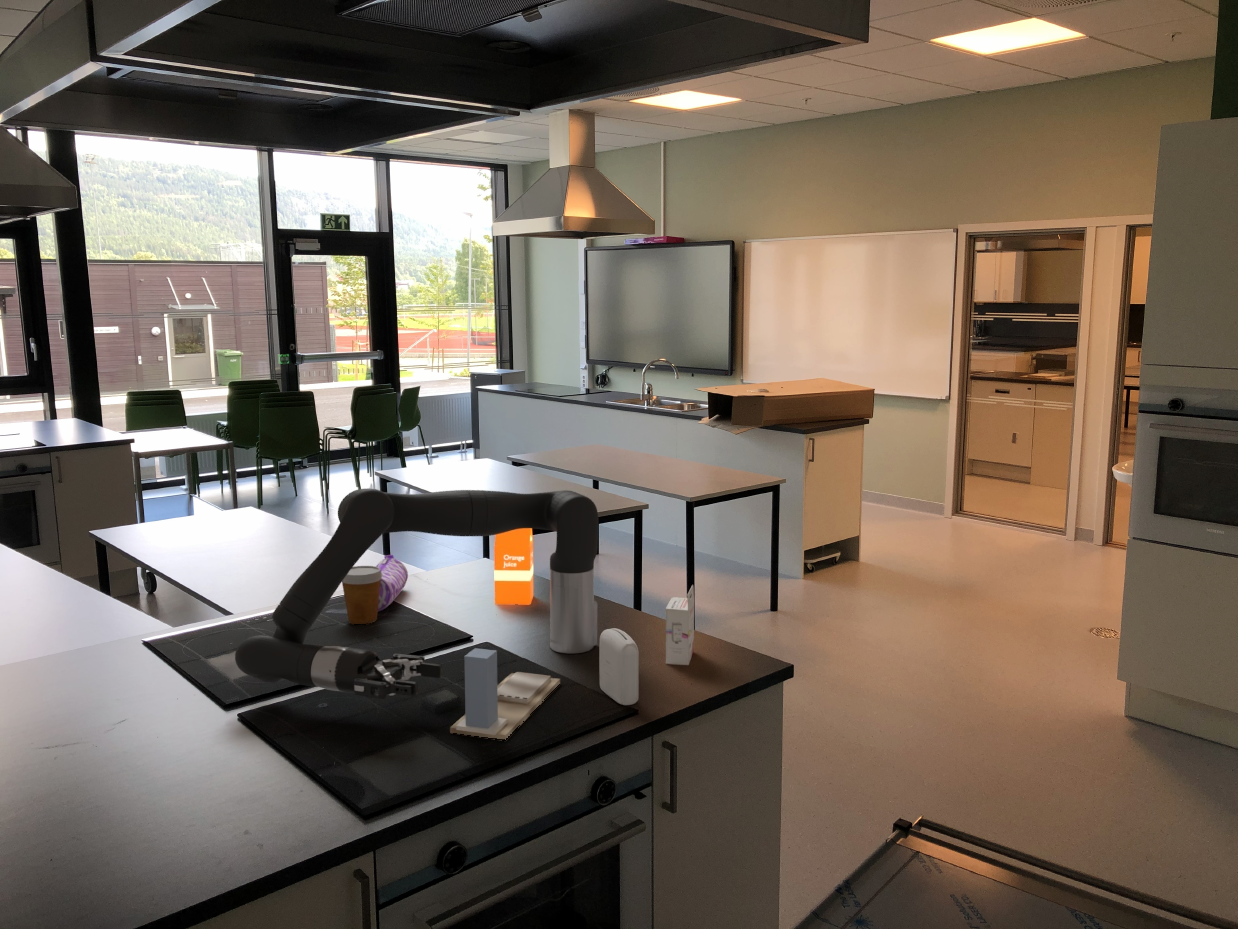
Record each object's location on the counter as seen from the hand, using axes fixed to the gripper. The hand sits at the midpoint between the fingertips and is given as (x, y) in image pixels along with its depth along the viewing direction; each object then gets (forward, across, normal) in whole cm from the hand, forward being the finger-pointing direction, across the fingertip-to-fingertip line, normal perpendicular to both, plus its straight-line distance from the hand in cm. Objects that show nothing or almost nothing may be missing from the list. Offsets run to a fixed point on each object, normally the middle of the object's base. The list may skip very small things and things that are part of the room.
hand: (429, 680), depth 157 cm
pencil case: (-46, +63, +8) cm, 79 cm away
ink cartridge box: (+33, +45, +8) cm, 57 cm away
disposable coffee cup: (-42, +47, +8) cm, 64 cm away
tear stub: (+9, 0, +7) cm, 12 cm away
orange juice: (-15, +73, +8) cm, 75 cm away
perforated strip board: (+10, +11, +8) cm, 17 cm away
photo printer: (+27, +22, +8) cm, 36 cm away
